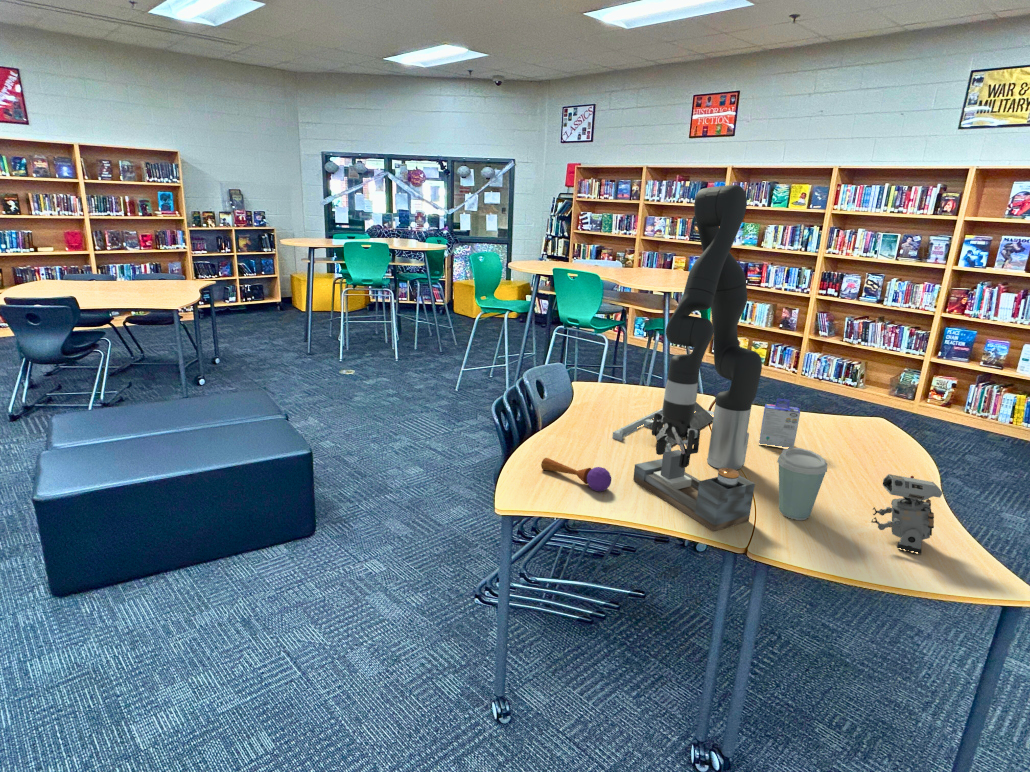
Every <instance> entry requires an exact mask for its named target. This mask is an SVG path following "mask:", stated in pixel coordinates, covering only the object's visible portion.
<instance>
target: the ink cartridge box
mask: <svg viewBox="0 0 1030 772" xmlns="http://www.w3.org/2000/svg"><path fill="white" fill-rule="evenodd" d="M790 401H791V399H786V398H779V397H776V403H775V404H768V403H765V405H764V408H763V415H762V416H763V417H762V421H761V428H760V435H759V439H760V440H759V439H758V444H759V443H760V444H767V445H775V446H782V447H789V448H795V443H796V437H797V431H798V427H799V421H800V415H801V410H800V408H799V407H794V406H790ZM780 402H785V403H780Z"/></svg>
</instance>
